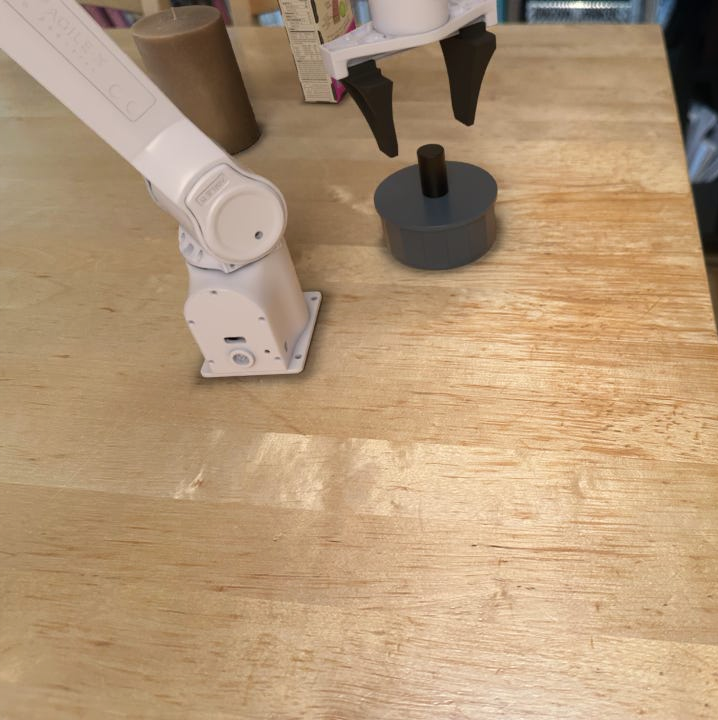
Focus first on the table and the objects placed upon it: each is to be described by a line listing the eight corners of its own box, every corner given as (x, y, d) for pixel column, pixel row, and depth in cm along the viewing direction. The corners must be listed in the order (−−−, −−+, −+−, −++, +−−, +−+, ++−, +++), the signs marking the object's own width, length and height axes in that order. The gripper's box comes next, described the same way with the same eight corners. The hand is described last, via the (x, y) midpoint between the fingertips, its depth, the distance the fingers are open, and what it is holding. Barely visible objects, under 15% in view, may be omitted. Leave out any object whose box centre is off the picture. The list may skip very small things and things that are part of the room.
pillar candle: (276, 131, 80) (237, -2, 70) (214, 167, 75) (161, 28, 64) (224, 116, 84) (178, -13, 74) (161, 148, 79) (103, 15, 68)
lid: (499, 234, 55) (497, 180, 52) (368, 241, 56) (356, 188, 52) (496, 167, 63) (494, 116, 60) (382, 174, 64) (372, 124, 60)
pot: (496, 267, 58) (494, 225, 55) (381, 273, 59) (372, 232, 56) (494, 204, 66) (492, 164, 62) (392, 210, 66) (384, 170, 63)
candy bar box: (332, 69, 93) (302, -65, 81) (365, 70, 92) (340, -66, 81) (301, 103, 85) (264, -39, 74) (337, 104, 85) (305, -39, 73)
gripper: (454, -79, 50) (469, 94, 60) (282, -32, 45) (330, 149, 55) (510, -64, 46) (517, 120, 56) (328, -11, 41) (370, 182, 51)
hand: (427, 136), depth 55 cm, fingers open, 7 cm apart
